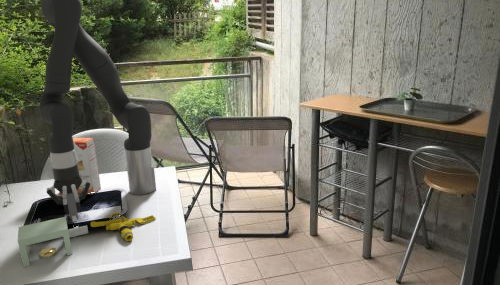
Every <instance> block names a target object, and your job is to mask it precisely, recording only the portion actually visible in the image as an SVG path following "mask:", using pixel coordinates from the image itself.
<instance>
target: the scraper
mask: <svg viewBox="0 0 500 285" xmlns="http://www.w3.org/2000/svg"><path fill="white" fill-rule="evenodd" d="M66 198H67V204H68V209H69V220H72V223H73V222H74V221H77V222H78V218H79V216H78V215H79V214H78V213H77V208H76V202H75V196H74V193H67V195H66ZM68 233H69V238H75V237H77V236H81V235H82V236H83V235H87V234H89V230H88V225H87V224H86V225H83V226H79V225H78V226H76V227H74V226H73V228H69V229H68Z"/></svg>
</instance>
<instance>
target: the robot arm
mask: <svg viewBox="0 0 500 285" xmlns="http://www.w3.org/2000/svg"><path fill="white" fill-rule="evenodd" d="M82 5H83V4H82V2H81V0H40V10H41V12H42V14H43V16H44V18H45V19H46V21H47V22H48V23H49V24H50V26H51V27H53V29H54V34H53V35H54V36H53V41H52V44H51V48H50V50H49V54H48V56H47V59H46V65H45V76H44V78H45V79H44V89H43V91H42V94H41V97H40V102H39V106H38V107H39V108H38V112H39V116H40V118H41V120H42V121H44V122H45V123H47V124H50V125H51V133H49V135H48V137H47V139H48V140H47V141H48V146H49V153H50V165H51V168H52V173H53V174H52V175H53V180H54V181H53V185H52V186H50V187H47V188H46V193H47V195H48V196H49V197H50V198H51V199H52V200H53V201H54V202H55V203H56V204H57V205H63V208H64V210H63V211H64V213H65V214H67V215H69V209H68V204H67V198H66V195H67V193H74V196H75V202H76V208H77V214H78V213H80V211H81V210H82V208H81V207H82V206H81V201H82V200H85V199H86V196H87V195H88V194H87V192H88V189H89V187H90V182H89V181H88V180H87V181H84V180H82V179H81V177H80V174H79V168H78V160H77V156H76V152H75V149H74V143H73V138H74V137H73V132H74V123H75V118H74V117H75V116H74V112H73V109H72V108H71V106H70V105H68V104H67V103H65V102H63V101H64V98H65V97H64V96H65V95H67V94H68V93H70V90H71V82H72V81H71V80H72V66H73V57H75V58H76V60H77V62H78V63H79V64H80V66H81V68H82V69H83V70H84V72H85V74H86V75H87V76H88V77H89V79H90V80H91V82H92V83H93V84H94V86H95V87H96V88H97V90H98V91H99V93H100V95H102V97H103V98H104V100H105V101H106V102H107V104H108V106H109V108H110V110H111V111H112V114H113V115H114V118H115V119H116V120H117V122H118V124H119V125H121V127H123V128H124V129H127V133H128V138H126V139H125V140H124V142H123V146H124V154H125V155H124V156H125V162H126V163H125V164H126V172H127V178H128V180H127V181H128V187H129V192H130V194H132V195H136V196H137V195H139V196H140V195H141V196H142V195H146V194H150V193H152V192H154V191H156V190H157V184H156V176H155V175H156V174H155V173H156V172H155V167H154V165H153V159H152V150H151V140H152V137H153V136H152V118H151V114H150V111H149V109H148V108H147V107H146V106H144V105H141V104H138V103H134V102H133V101H132V100H131V99H130V98H129V96H128V95H127V94H126V92H125V90H124V89H123V86H122V83H121V82H122V81H121V77H120V74H119V70H118V67H117V66H116V64H115V63H114V62H113V59H112V58H111V56H110V55H109V53H108V52H107V51H106V50H105V49H104V48H103V47H102V45H100V44H99V43H98V42H97V41H96V40H94V38H92V37H91V35H89V34H88V33H87V32H86V31H85V29H84V27H82V25H81V24H80V22H81V17H82V11H83V6H82ZM81 183H82V186H83V190H82V192H81V194H78V193H77V190H78V189H79V187H80V185H81ZM56 190H57V191H58V192H59V193H60V192H61V193H60V194H61V197H62V198H60V197H59V196H58V195H57V194H56ZM69 216H70V215H69Z"/></svg>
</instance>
